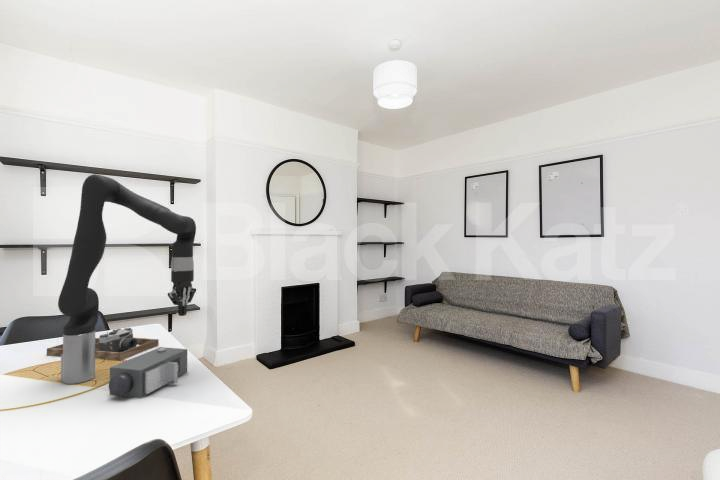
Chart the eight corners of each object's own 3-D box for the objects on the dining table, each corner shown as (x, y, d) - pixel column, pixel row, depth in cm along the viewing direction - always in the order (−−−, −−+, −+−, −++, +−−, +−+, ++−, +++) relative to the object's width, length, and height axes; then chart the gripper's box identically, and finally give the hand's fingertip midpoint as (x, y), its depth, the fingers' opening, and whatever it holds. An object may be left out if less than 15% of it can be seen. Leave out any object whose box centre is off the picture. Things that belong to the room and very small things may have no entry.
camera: (115, 358, 149) (115, 335, 149) (96, 356, 151) (96, 334, 151) (144, 347, 165) (145, 326, 165) (126, 346, 167) (127, 325, 167)
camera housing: (101, 398, 112) (101, 368, 112) (160, 369, 137) (160, 345, 137) (133, 402, 110) (133, 371, 110) (187, 372, 134) (187, 347, 134)
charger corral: (46, 355, 153) (46, 348, 153) (86, 343, 170) (86, 337, 170) (74, 357, 150) (74, 350, 150) (111, 345, 167) (111, 339, 167)
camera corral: (91, 357, 150) (91, 350, 150) (132, 343, 170) (132, 337, 170) (120, 360, 147) (120, 353, 147) (158, 345, 167) (158, 339, 167)
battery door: (144, 393, 114) (144, 372, 114) (167, 381, 123) (167, 361, 123) (155, 394, 113) (155, 373, 113) (177, 382, 123) (177, 362, 123)
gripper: (186, 267, 137) (185, 311, 137) (160, 270, 124) (160, 318, 124) (202, 267, 136) (202, 312, 136) (178, 271, 123) (178, 320, 123)
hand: (182, 315), depth 130 cm, fingers closed
